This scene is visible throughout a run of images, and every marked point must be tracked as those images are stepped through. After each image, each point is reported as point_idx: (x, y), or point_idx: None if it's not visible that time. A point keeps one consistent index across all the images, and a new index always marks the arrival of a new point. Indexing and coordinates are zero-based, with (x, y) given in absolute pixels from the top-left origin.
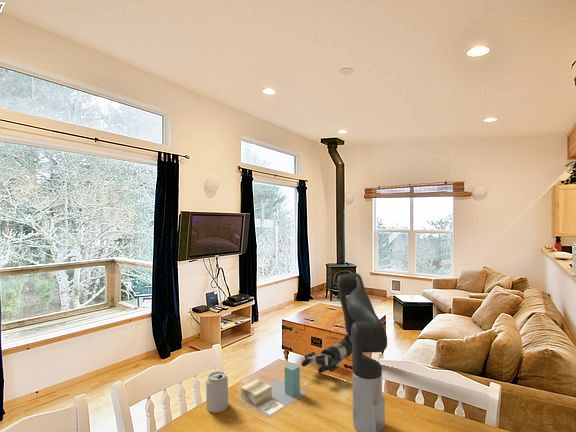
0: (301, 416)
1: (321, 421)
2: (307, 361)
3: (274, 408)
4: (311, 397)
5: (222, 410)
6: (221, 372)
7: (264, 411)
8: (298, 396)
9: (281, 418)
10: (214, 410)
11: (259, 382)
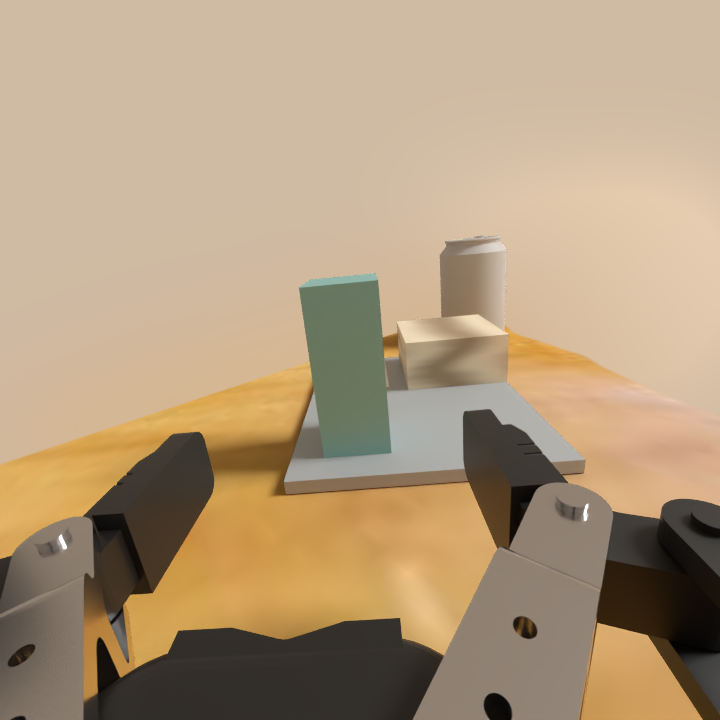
0: (233, 411)
1: (141, 431)
2: (495, 493)
3: None
4: (248, 494)
5: None
6: (486, 238)
7: None
8: (309, 440)
9: (293, 384)
10: None
11: (470, 333)
